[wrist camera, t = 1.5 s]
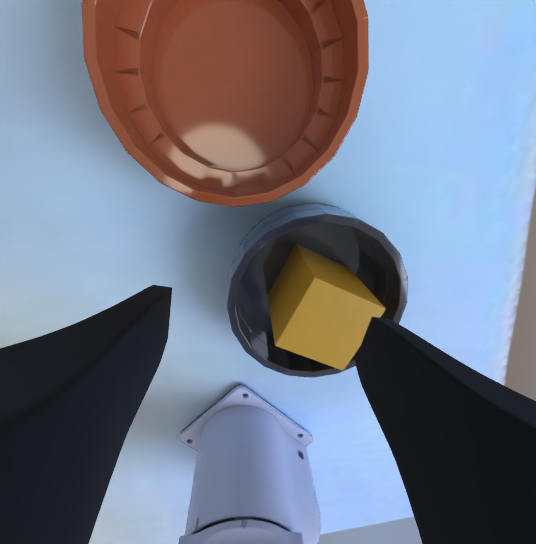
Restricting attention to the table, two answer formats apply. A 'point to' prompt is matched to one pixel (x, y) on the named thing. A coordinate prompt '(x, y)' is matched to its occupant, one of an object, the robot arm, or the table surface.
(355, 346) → the block
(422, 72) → the table surface
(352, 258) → the pot
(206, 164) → the bowl
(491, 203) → the table surface
